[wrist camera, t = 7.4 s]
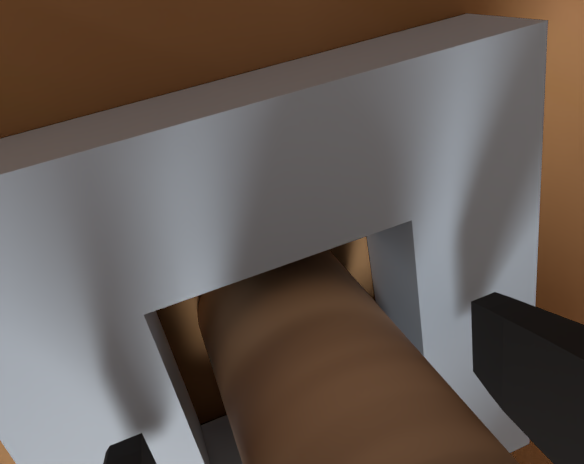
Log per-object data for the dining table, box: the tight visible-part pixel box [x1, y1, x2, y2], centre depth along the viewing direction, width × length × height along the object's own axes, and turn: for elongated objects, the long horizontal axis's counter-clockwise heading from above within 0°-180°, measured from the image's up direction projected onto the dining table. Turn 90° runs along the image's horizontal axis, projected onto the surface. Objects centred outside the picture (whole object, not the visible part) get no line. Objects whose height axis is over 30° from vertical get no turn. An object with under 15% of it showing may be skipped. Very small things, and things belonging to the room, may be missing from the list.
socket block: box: [0, 14, 548, 464], centre depth 13 cm, size 12×12×2 cm
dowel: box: [198, 250, 519, 464], centre depth 11 cm, size 4×4×7 cm
